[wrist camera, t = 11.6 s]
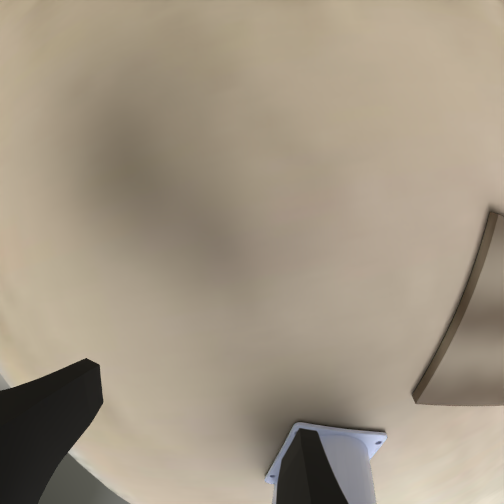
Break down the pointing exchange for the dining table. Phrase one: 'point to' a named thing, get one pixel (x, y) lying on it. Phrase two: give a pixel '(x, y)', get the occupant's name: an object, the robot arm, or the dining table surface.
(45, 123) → the dining table surface
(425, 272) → the dining table surface
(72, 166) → the dining table surface
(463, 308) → the subfloor panel
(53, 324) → the dining table surface
